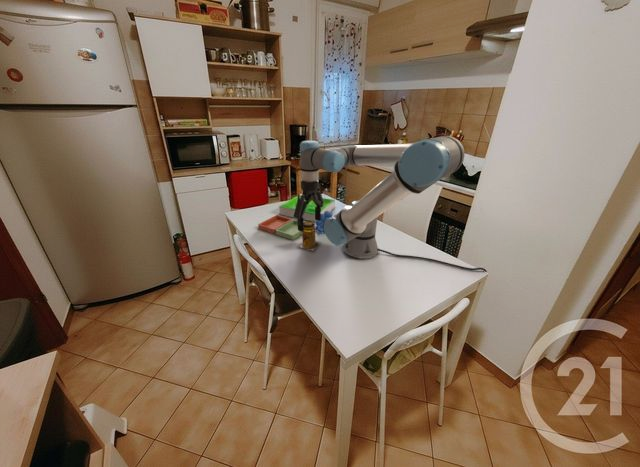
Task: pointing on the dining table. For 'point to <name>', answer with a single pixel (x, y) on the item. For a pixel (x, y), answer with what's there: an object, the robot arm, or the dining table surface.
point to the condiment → (309, 236)
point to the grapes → (322, 221)
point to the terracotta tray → (274, 223)
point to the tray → (309, 213)
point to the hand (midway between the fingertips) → (309, 225)
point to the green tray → (289, 230)
